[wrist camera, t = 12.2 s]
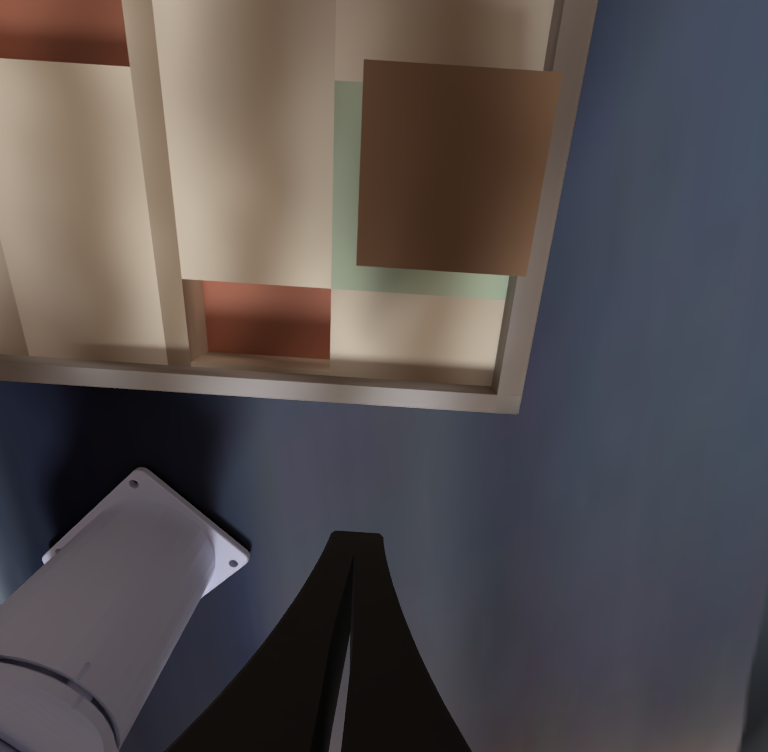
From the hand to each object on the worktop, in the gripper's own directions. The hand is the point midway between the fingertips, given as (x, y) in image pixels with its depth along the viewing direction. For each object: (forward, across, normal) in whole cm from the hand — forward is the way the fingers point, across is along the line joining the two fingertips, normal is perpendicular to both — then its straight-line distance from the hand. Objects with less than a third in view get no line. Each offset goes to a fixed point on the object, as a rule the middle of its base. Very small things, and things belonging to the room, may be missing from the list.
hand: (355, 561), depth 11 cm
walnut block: (+7, -2, -10) cm, 13 cm away
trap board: (+9, +10, -10) cm, 17 cm away
